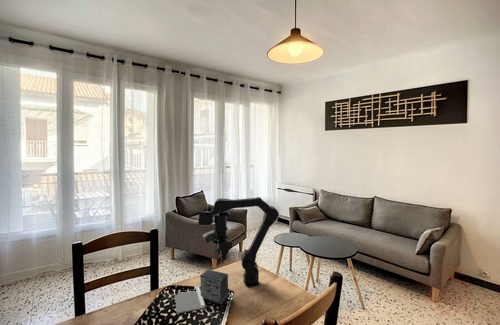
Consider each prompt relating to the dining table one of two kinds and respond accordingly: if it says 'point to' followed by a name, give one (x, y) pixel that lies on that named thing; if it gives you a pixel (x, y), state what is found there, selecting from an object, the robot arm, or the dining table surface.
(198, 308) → the mat
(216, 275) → the small box
